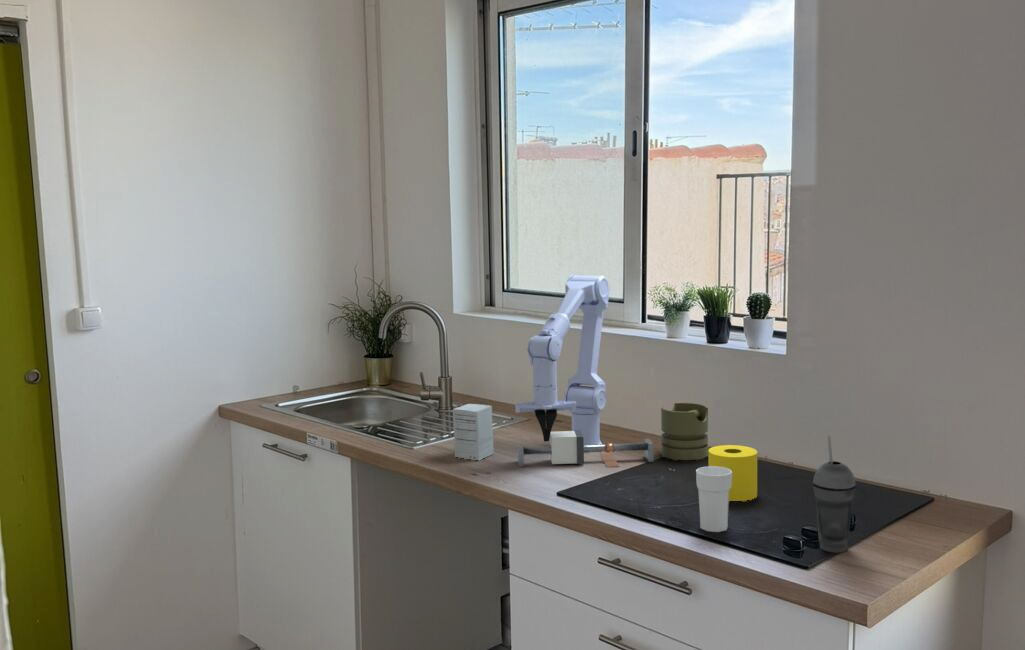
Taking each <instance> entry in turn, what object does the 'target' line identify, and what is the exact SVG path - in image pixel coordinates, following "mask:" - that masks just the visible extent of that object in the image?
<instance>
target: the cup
mask: <svg viewBox="0 0 1025 650" xmlns="http://www.w3.org/2000/svg"><path fill="white" fill-rule="evenodd" d="M695 475H696V476H695V477H696V487H697V490H698V504H699V505H698V508H699V521H700V529H701V530H703V531H706V532H710V533H711V532H712V533H720V532H724V531H728V524H729V522H728V520H729V506H730V505H729V504H730V501H729V489H730V488H731V485H732V471H731V470H730V469H728V468H724V467H717V466H709V465H708V466H702V467H698V468H697V469H695Z"/></svg>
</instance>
